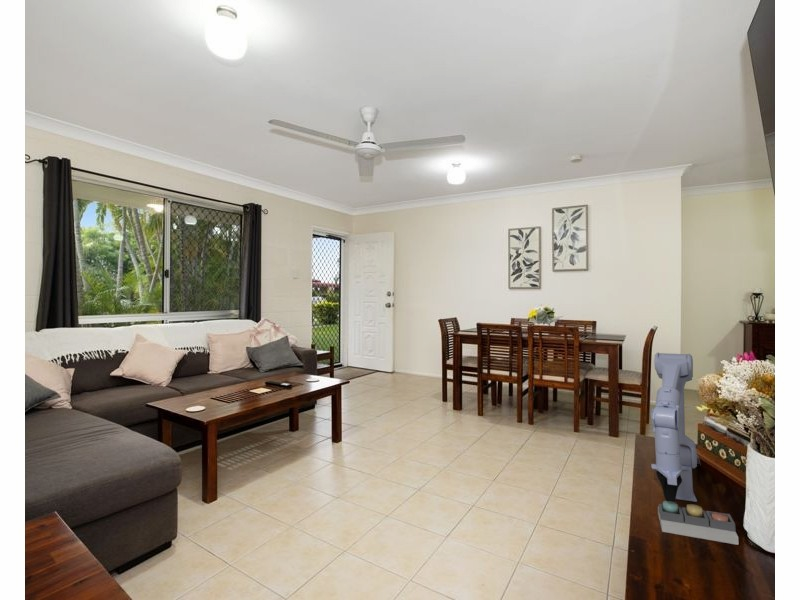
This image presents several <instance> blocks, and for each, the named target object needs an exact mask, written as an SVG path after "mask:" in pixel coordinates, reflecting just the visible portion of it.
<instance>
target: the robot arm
mask: <svg viewBox="0 0 800 600" xmlns="http://www.w3.org/2000/svg"><path fill="white" fill-rule="evenodd" d="M653 359H654V360H653V362H654V371H655V372H656V375H657V376H658V378H659V379H661V380H662V383H661V387H659V388H658V389H657V390H656V397H655V405H654V407H652V408H651V414H650V418H651V421H650V422H651V425H652V432H653V434H654V445H655V446H654V448H655V463H651V464H650V465H651V469H652V470H656V476H657V479H658V481H659V483H660V484H661V488H662V492H663V496H664V501H670V502H675V503H676V500H681V501H686V502H688V501H689V502H695V503H697V502H698V500H697V497H696V495H695V493H694V488H693V486H694V485H693V469H696V468H697V467H698V465H697V455H698V452H697V445H696V443H695V441H694V440H693V439H691V438H690V437H689V436H687V435H686V426H685V425H686V424H685V423H686V421H685V417H686V416H685V387H686V382H690V381H692V380H693V377H694V360H693V355H692V354H691V353H667V352H666V353H664V352H661V353H660V352H656V353H655V354H654V358H653Z"/></svg>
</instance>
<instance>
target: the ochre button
mask: <svg viewBox="0 0 800 600" xmlns="http://www.w3.org/2000/svg"><path fill="white" fill-rule="evenodd" d="M686 508H687V514H688V515H690V516H694V517H700V518H701V517H702V516H703V514H702V510H703V507H702V506H700V505H697V504H693V503H689V504H686Z"/></svg>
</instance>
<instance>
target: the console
mask: <svg viewBox="0 0 800 600" xmlns="http://www.w3.org/2000/svg"><path fill="white" fill-rule="evenodd" d="M657 505H658V506H657V515H658V519H659V523H660V529H661V532H662V533H669V534H674V535H680V536H684V537H685V536H686V537H691V538H695V539H696V538H697V539H702V540H707V541H715V542H719V543H727V544H731V545H739V536H738V533H737V532H736V531H737V530H736V523H735V521H734V519H733V518H732V516H731V514H730V513H724V512H723V513H722V512H721V513H722V514H725V515H727V516H728V522H726V521H719V520H713V519H712V513H714V512H715V511H710V510H705V509H702V514H703V516H702V517H701V518H700V517H694V516H690V515H688V514H687V507H685V506H678V513H677V514H674V513H668V512H665V511H664V510H663V503H658V504H657Z"/></svg>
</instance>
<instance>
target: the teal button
mask: <svg viewBox="0 0 800 600" xmlns="http://www.w3.org/2000/svg"><path fill="white" fill-rule="evenodd" d="M662 504H663V510H664V511H665V512H668V513H674V514H677V513H678V507H679V505H678V503H676V501H675V502H670V501H666V500H663V501H662Z"/></svg>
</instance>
